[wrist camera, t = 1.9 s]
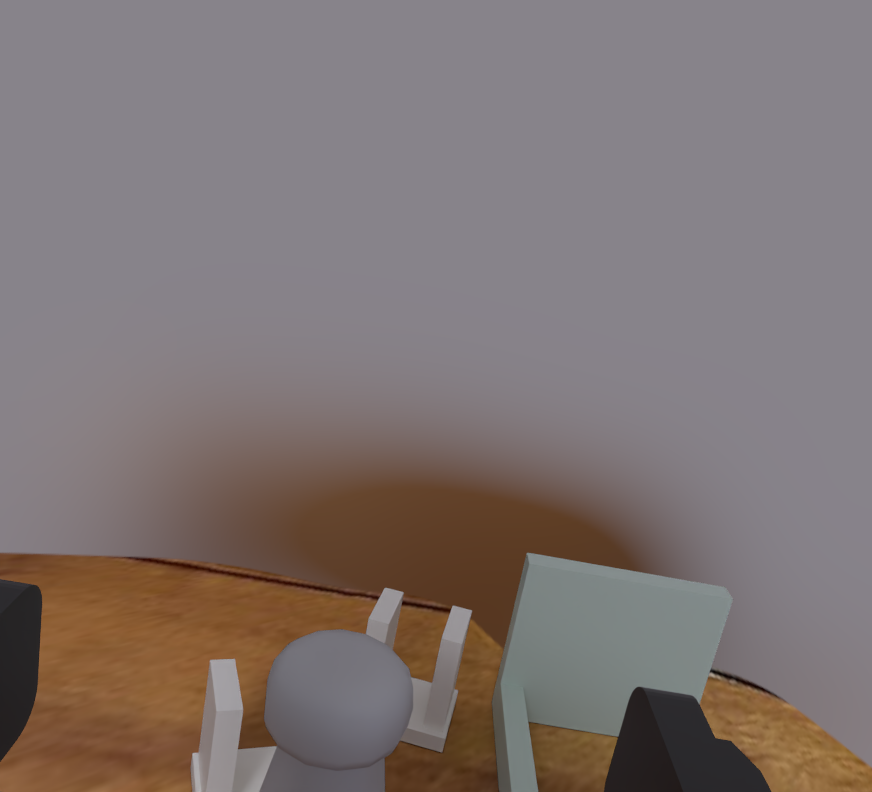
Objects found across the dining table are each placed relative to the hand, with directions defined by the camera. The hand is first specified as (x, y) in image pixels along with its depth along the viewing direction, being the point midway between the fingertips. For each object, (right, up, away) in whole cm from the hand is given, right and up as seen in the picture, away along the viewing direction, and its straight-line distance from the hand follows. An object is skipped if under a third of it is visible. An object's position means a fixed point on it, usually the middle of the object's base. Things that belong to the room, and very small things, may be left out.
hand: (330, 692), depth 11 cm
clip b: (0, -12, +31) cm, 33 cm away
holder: (+9, -15, +28) cm, 33 cm away
